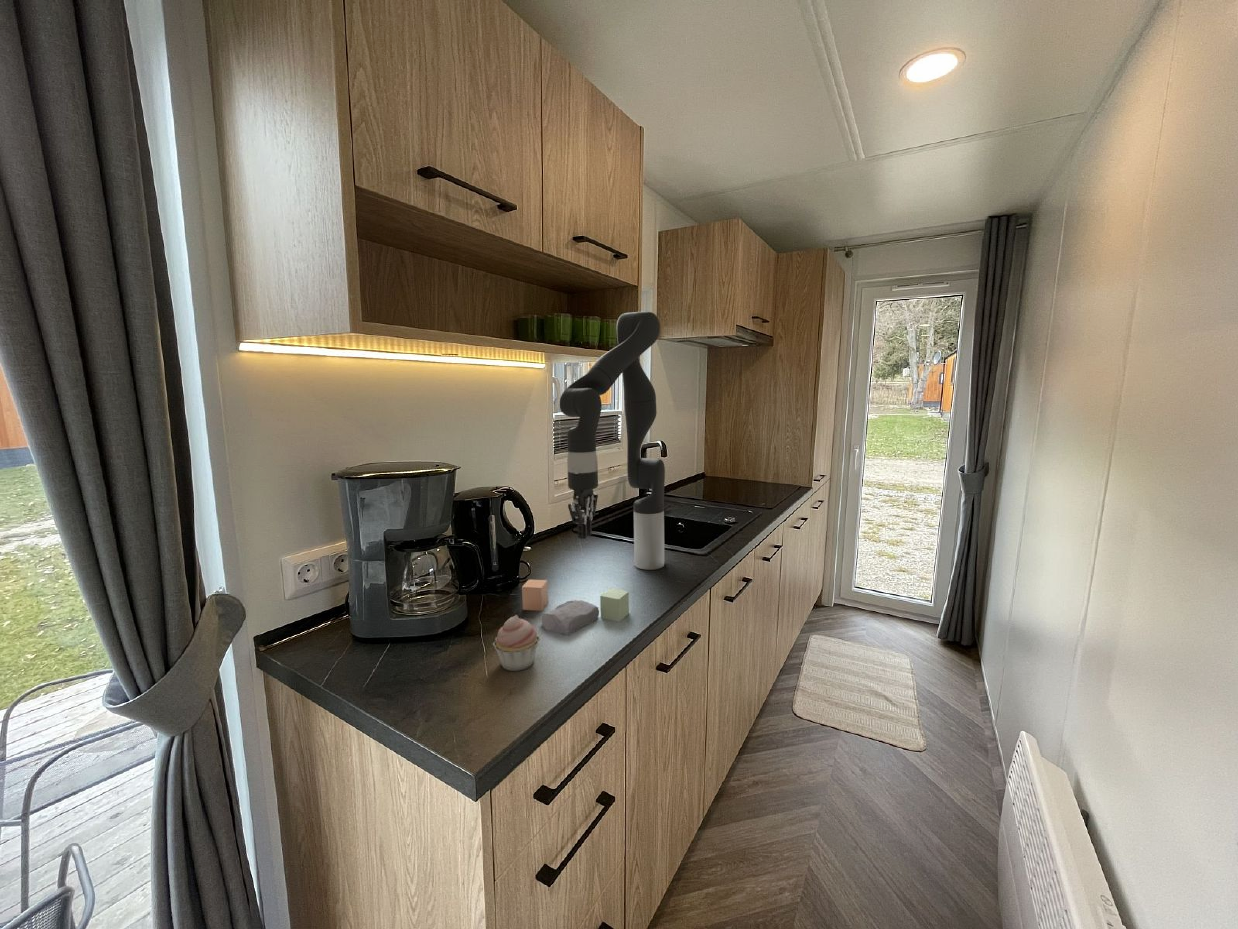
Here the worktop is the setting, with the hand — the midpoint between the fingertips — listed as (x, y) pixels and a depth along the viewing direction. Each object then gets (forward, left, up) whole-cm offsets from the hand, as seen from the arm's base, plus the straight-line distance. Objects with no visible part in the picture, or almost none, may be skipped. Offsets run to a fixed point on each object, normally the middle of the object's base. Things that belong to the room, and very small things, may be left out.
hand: (584, 536), depth 127 cm
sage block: (+6, +10, -17) cm, 21 cm away
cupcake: (+32, -1, -17) cm, 36 cm away
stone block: (+12, +1, -18) cm, 21 cm away
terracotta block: (+7, -11, -17) cm, 22 cm away
